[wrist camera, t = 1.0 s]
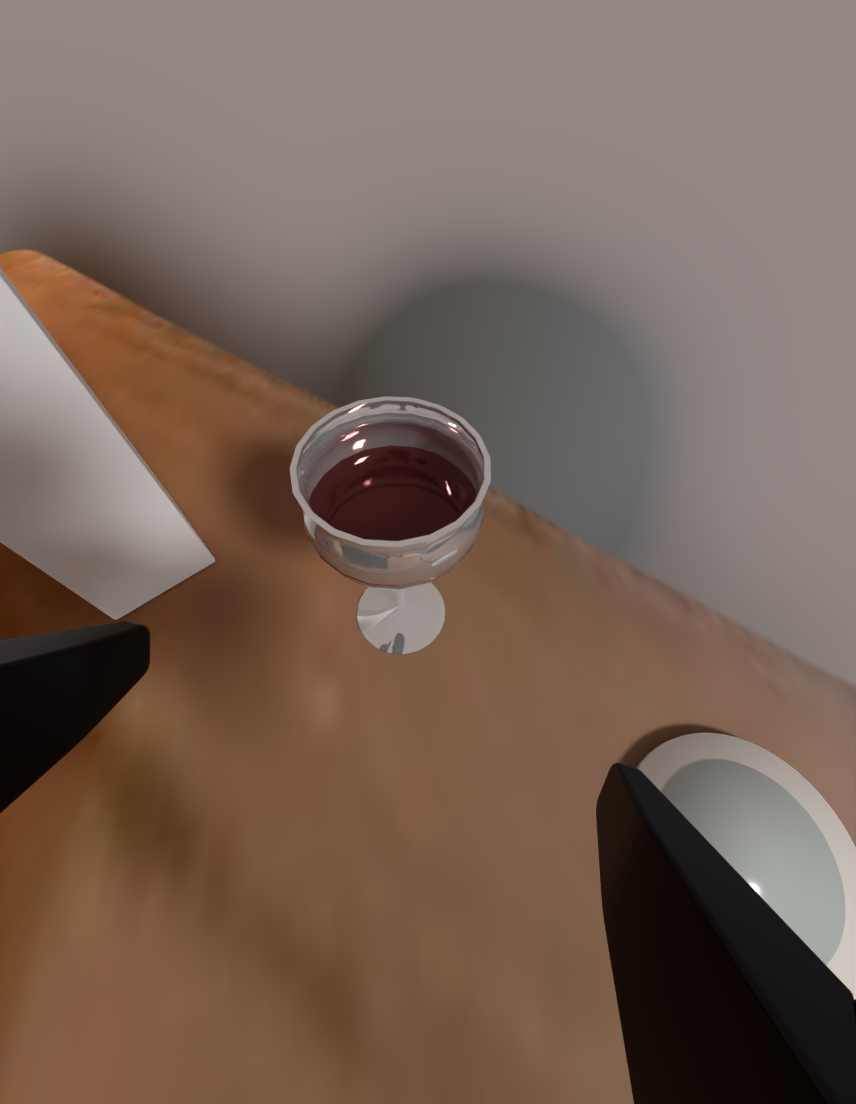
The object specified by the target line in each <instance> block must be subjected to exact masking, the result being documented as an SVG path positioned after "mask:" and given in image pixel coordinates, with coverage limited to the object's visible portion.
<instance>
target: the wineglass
mask: <svg viewBox="0 0 856 1104" xmlns="http://www.w3.org/2000/svg"><path fill="white" fill-rule="evenodd" d="M290 476H291V483H292V491H293V494H294V496H295V497H296V499H297V501H298V502H299V504H300V506H301V509H302V516H303V523H304V530H305V532H306V533H307V535H308V537H309V539H310V540H311V542H312V544H313V545H314V547H315V549H316V550H317V552H318V554H319V555H320V557H321V558H322V559H323V560H324V561H325V562H326V563H327V564H329V565H330V566H331V567H332V568H334V569H335V570H336V571H337V572H339V573H340V574H341V575H342V576H344V577H345V578H347V579H349V580H351V581H353V582H356V583H359V584H362V585H364V586H367V587H368V588H367V589H366V590H365V591H364V593H363V595H362V597H361V599H360V601H359V604H358V610H357V619H358V624H359V628H360V630H361V632H362V633H363V635H364V637H365V638H366V640H368V641H369V642H370V643H371V644H372V645H374V646H375V647H376V648H378V649H380V650H383V651H386V652H388V653H394V654H407V653H411V652H415V651H419V650H421V649H422V648H424V647H425V646H427V645H429V644H430V643H431V642H432V641H433V640H434V639H435V638H436V637H437V635H438V634H439V633H440V631H441V628H442V626H443V623H444V621H445V606H444V602H443V599H442V596H441V594H440V593H439V592H438V590H437V589H436V587H435V586H434V585H433V584H431V582H433V581H434V580H436V579H438V578H440V577H442V576H443V575H445V574H447V573H448V572H450V571H451V570H453V569H454V568H455V566H456V565H457V564H458V563H459V562H460V561H461V560H462V559H463V558H464V557H465V555H466V554H467V553H468V552H469V551H470V550H471V548H472V546H473V544H474V542H475V540H476V537H477V535H478V532H479V530H480V527H481V525H482V522H483V520H484V496H485V493H486V491H487V489H488V486H489V484H490V481H491V472H490V456H489V454H488V451H487V449H486V447H485V445H484V443H483V441H482V439H481V436H480V435H479V434H478V433H477V432H476V431H475V430H474V429H473V428H472V427H471V426H470V425H469V424H468V423H467V422H466V421H465V420H464V418H462V417H460V416H458V415H457V414H455V413H453V412H451V411H449V410H448V409H446V408H444V407H442V406H441V405H437V404H434V403H430V402H427V401H423V400H419V399H415V398H405V397H387V396H386V397H379V398H373V399H367V400H361V401H357V402H354V403H351V404H349V405H346V406H344V407H341V408H339V409H336V410H333V411H332V412H330V413H329V414H328V415H326V416H325V417H323V418H322V419H321V420H319V421H318V422H316V423H315V424H314V425H312V426H311V427H310V429H309V430H308V431H307V433H306V434H305V435H304V436H303V438H302V439H301V440H300V442H299V443H298V444H297V446H296V449H295V452H294V456H293V459H292V462H291V466H290Z"/></svg>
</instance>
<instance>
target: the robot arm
mask: <svg viewBox="0 0 856 1104" xmlns="http://www.w3.org/2000/svg"><path fill="white" fill-rule="evenodd" d="M149 664H150V631H149V629H148V627H146V626H145V625H142V624H138V623H135V622H131V621H120V622H114V623H108V624H101V625H95V626H88V627H82V628H75V629H69V630H62V631H56V632H50V633H43V634H37V635H30V636H24V637H17V638H11V639H4V640H0V813H1V812H2V811H3V810H5V809H6V808H7V807H8V806H9V805H10V804H11V803H12V802H14V801H15V800H16V799H17V798H18V797H19V796H20V795H21V794H23V793H24V792H25V791H26V790H27V789H28V788H29V787H30V786H31V785H33V784H34V783H35V782H36V781H37V780H38V779H39V778H40V777H42V776H43V775H44V774H45V773H46V772H47V771H48V770H49V769H50V768H52V767H53V766H54V765H55V764H56V763H57V762H58V761H59V760H61V759H62V758H63V757H64V756H65V755H66V754H67V753H68V752H70V751H71V750H72V749H73V748H74V747H75V746H76V745H77V744H78V743H79V742H80V741H81V740H82V739H84V738H85V737H86V735H87V734H88V733H89V732H90V731H91V730H92V729H93V728H94V727H95V726H96V725H97V724H98V723H99V722H100V721H101V720H102V719H103V718H104V717H105V716H106V715H107V714H108V713H109V712H110V711H111V709H112V708H113V707H114V706H115V705H116V704H117V703H118V702H119V701H120V700H121V699H122V698H123V697H124V696H125V695H126V694H127V693H128V692H129V691H130V689H131V688H132V687H133V686H134V685H135V684H136V683H137V682H138V681H139V680H140V679H141V678H142V677H143V676H144V674H145V673H146V671H147V669H148V667H149ZM596 819H597V834H598V850H599V866H600V881H601V896H602V908H603V916H604V923H605V930H606V936H607V942H608V948H609V954H610V960H611V966H612V972H613V978H614V984H615V990H616V996H617V1002H618V1009H619V1015H620V1021H621V1027H622V1033H623V1039H624V1045H625V1051H626V1057H627V1063H628V1069H629V1075H630V1081H631V1087H632V1094H633V1100H634V1104H856V1000H854V997H853V994H852V992H851V991H850V990H849V989H848V988H847V987H846V986H845V985H844V984H843V983H842V982H841V980H840V979H839V978H838V977H837V976H836V975H835V974H834V973H833V972H832V971H831V970H830V969H829V968H828V967H827V966H826V965H825V964H824V963H823V962H822V960H821V959H820V958H819V957H818V956H817V955H816V954H815V953H814V952H813V951H812V950H811V949H810V948H809V947H808V946H807V945H806V944H805V943H804V942H803V941H802V939H801V938H800V937H799V936H798V935H797V934H796V933H795V932H794V931H793V930H792V929H791V928H790V927H789V926H788V925H787V924H786V923H785V922H784V921H783V919H782V918H781V917H780V916H779V915H778V914H777V913H776V912H775V911H774V910H773V909H772V908H771V907H770V906H769V905H768V904H767V903H766V902H765V901H764V900H763V898H762V897H761V896H760V895H759V894H758V893H757V892H756V891H755V890H754V889H753V888H752V887H751V886H750V885H749V884H748V883H747V882H746V881H745V880H744V878H743V877H742V876H741V875H740V874H739V873H738V872H737V871H736V870H735V869H734V868H733V867H732V866H731V865H730V864H729V863H728V862H727V861H726V860H725V859H724V857H723V856H722V855H721V854H720V853H719V852H718V851H717V850H716V849H715V848H714V847H713V846H712V845H711V844H710V843H709V842H708V841H707V840H706V839H705V837H704V836H703V835H702V834H701V833H700V832H699V831H698V830H697V829H696V828H695V827H694V826H693V825H692V824H691V823H690V822H689V821H688V820H687V819H686V818H685V816H684V815H683V814H682V813H681V812H680V811H679V810H678V809H677V808H676V807H675V806H674V805H673V804H672V803H671V802H670V801H669V800H668V799H667V798H666V796H665V795H664V794H663V793H662V792H661V791H660V790H659V789H658V788H657V787H656V786H655V785H654V784H653V783H652V782H651V781H650V780H649V779H648V778H647V777H646V775H645V774H644V773H643V772H642V771H641V770H639V769H637V768H634V767H631V766H627V765H624V764H620V763H615V764H613V765H612V766H611V768H610V770H609V772H608V775H607V777H606V780H605V782H604V785H603V787H602V790H601V792H600V795H599V797H598V801H597V806H596Z"/></svg>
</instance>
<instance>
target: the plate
mask: <svg viewBox="0 0 856 1104" xmlns="http://www.w3.org/2000/svg"><path fill="white" fill-rule="evenodd" d="M636 768H637V769H639V770H641V771H642V772H643V773H644V774H645V775H646V777H647V778H648V779H649V780H650V781H651V782H652V783H653V784H654V785H655V786H656V787H657V788H658V789H659V790H660V791H661V792H662V793H663V794H664V795H665V796H666V798H667V799H668V800H669V801H670V802H671V803H672V804H673V805H674V806H675V807H676V808H677V809H678V810H679V811H680V812H681V813H682V814H683V815H684V816H685V818H686V819H687V820H688V821H689V822H690V823H691V824H692V825H693V826H694V827H695V828H696V829H697V830H698V831H699V832H700V833H701V834H702V835H703V836H704V837H705V839H706V840H707V841H708V842H709V843H710V844H711V845H712V846H713V847H714V848H715V849H716V850H717V851H718V852H719V853H720V854H721V855H722V856H723V857H724V859H725V860H726V861H727V862H728V863H729V864H730V865H731V866H732V867H733V868H734V869H735V870H736V871H737V872H738V873H739V874H740V875H741V876H742V877H743V878H744V880H745V881H746V882H747V883H748V884H749V885H750V886H751V887H752V888H753V889H754V890H755V891H756V892H757V893H758V894H759V895H760V896H761V897H762V898H763V900H764V901H765V902H766V903H767V904H768V905H769V906H770V907H771V908H772V909H773V910H774V911H775V912H776V913H777V914H778V915H779V916H780V917H781V918H782V919H783V921H784V922H785V923H786V924H787V925H788V926H789V927H790V928H791V929H792V930H793V931H794V932H795V933H796V934H797V935H798V936H799V937H800V938H801V939H802V941H803V942H804V943H805V944H806V945H807V946H808V947H809V948H810V949H811V950H812V951H813V952H814V953H815V954H816V955H817V956H818V957H819V958H820V959H821V960H822V962H823V963H824V964H825V965H826V966H827V967H828V968H829V969H830V970H831V971H832V972H833V973H834V974H835V975H836V976H837V977H838V978H839V979H840V980H841V982H842V983H843V984H844V985H845V986H846V987H847V988H848V989H849V990H850V991H851V992H852V994H853V997H854V1000H855V999H856V847H855V845H854V843H853V842H852V840H851V838H850V836H849V834H848V832H847V831H846V829H845V827H844V826H843V824H842V823H841V821H840V820H839V818H838V817H837V815H836V814H835V812H834V811H833V810H832V808H831V807H830V806H829V805H828V803H827V802H826V801H825V799H824V798H823V797H822V796H821V795H820V794H819V793H818V791H817V790H816V789H815V788H814V787H813V786H812V785H811V784H810V783H809V782H808V781H807V780H806V779H805V778H804V777H803V776H801V775H800V774H799V773H798V772H797V771H796V770H795V769H793V768H792V767H791V766H789V765H788V764H787V763H786V762H784V761H783V760H782V759H780V758H778V757H777V756H775V755H774V754H772V753H770V752H769V751H767V750H765V749H763V748H761V747H759V746H757V745H755V744H753V743H751V742H748V741H745V740H743V739H740V738H737V737H733V736H729V735H725V734H717V733H694V734H688V735H683V736H680V737H677V738H674V739H671V740H668V741H666V742H664V743H662V744H660V745H658V746H656V747H655V748H654V749H653V750H651V751H650V752H649V753H647V754H646V755H645V756H644V758H643V759H642V760H641V761H640V762H639V763H638V765H637V766H636Z"/></svg>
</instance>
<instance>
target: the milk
mask: <svg viewBox="0 0 856 1104" xmlns="http://www.w3.org/2000/svg"><path fill="white" fill-rule="evenodd" d="M0 542H1V543H2V544H4V545H5V546H7V547H8V548H9V549H11V550H12V551H14V552H15V553H17V554H18V555H20V556H21V557H23V558H24V559H26V560H27V561H29V562H30V563H32V564H33V565H35V566H36V567H37V568H39V569H40V570H42V571H43V572H45V573H46V574H48V575H49V576H51V577H52V578H54V579H55V580H57V581H58V582H60V583H61V584H62V585H64V586H65V587H67V588H68V589H70V590H71V591H73V592H74V593H76V594H77V595H79V596H80V597H82V598H83V599H85V600H86V601H87V602H89V603H90V604H92V605H93V606H95V607H96V608H98V609H99V610H101V611H102V612H104V613H105V614H107V615H108V616H110V617H111V618H113V619H114V620H117V619H119V618H121V617H123V616H124V615H126V614H128V613H129V612H131V611H133V610H134V609H136V608H138V607H140V606H141V605H143V604H145V603H146V602H148V601H150V600H151V599H153V598H155V597H156V596H158V595H160V594H162V593H163V592H165V591H167V590H168V589H170V588H172V587H173V586H175V585H177V584H178V583H180V582H182V581H184V580H185V579H187V578H189V577H190V576H192V575H194V574H195V573H197V572H199V571H200V570H202V569H204V568H206V567H207V566H209V565H211V564H212V563H214V562H215V559H214V557H213V556H212V554H211V553H210V551H209V550H208V548H207V547H206V546H205V544H204V543H203V541H202V540H201V539H200V537H199V536H198V534H197V533H196V531H195V530H194V529H193V527H192V526H191V524H190V523H189V521H188V520H187V519H186V517H185V516H184V514H183V513H182V511H181V510H180V509H179V507H178V506H177V504H176V503H175V501H174V500H173V499H172V497H171V496H170V495H169V493H168V492H167V491H166V489H165V488H164V487H163V485H162V484H161V483H160V481H159V480H158V478H157V477H156V476H155V474H154V473H153V472H152V470H151V469H150V468H149V466H148V465H147V464H146V462H145V461H144V460H143V458H142V457H141V456H140V454H139V453H138V452H137V450H136V449H135V448H134V446H133V445H132V444H131V442H130V441H129V440H128V438H127V437H126V436H125V434H124V433H123V432H122V430H121V429H120V427H119V426H118V425H117V423H116V422H115V421H114V419H113V418H112V417H111V415H110V414H109V413H108V411H107V410H106V409H105V407H104V406H103V405H102V403H101V402H100V401H99V399H98V398H97V397H96V395H95V394H94V393H93V391H92V390H91V389H90V387H89V386H88V385H87V383H86V382H85V380H84V379H83V378H82V376H81V375H80V374H79V372H78V371H77V370H76V368H75V367H74V366H73V364H72V363H71V362H70V360H69V359H68V358H67V356H66V355H65V354H64V352H63V351H62V350H61V348H60V347H59V346H58V344H57V343H56V342H55V340H54V339H53V338H52V336H51V335H50V333H49V332H48V331H47V329H46V328H45V327H44V325H43V324H42V323H41V321H40V320H39V319H38V317H37V316H36V315H35V313H34V312H33V311H32V309H31V308H30V307H29V305H28V304H27V303H26V301H25V300H24V299H23V297H22V296H21V295H20V293H19V292H18V291H17V289H16V288H15V286H14V285H13V284H12V282H11V281H10V280H9V278H8V277H7V276H6V274H5V273H4V272H3V270H2V269H1V268H0Z"/></svg>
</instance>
